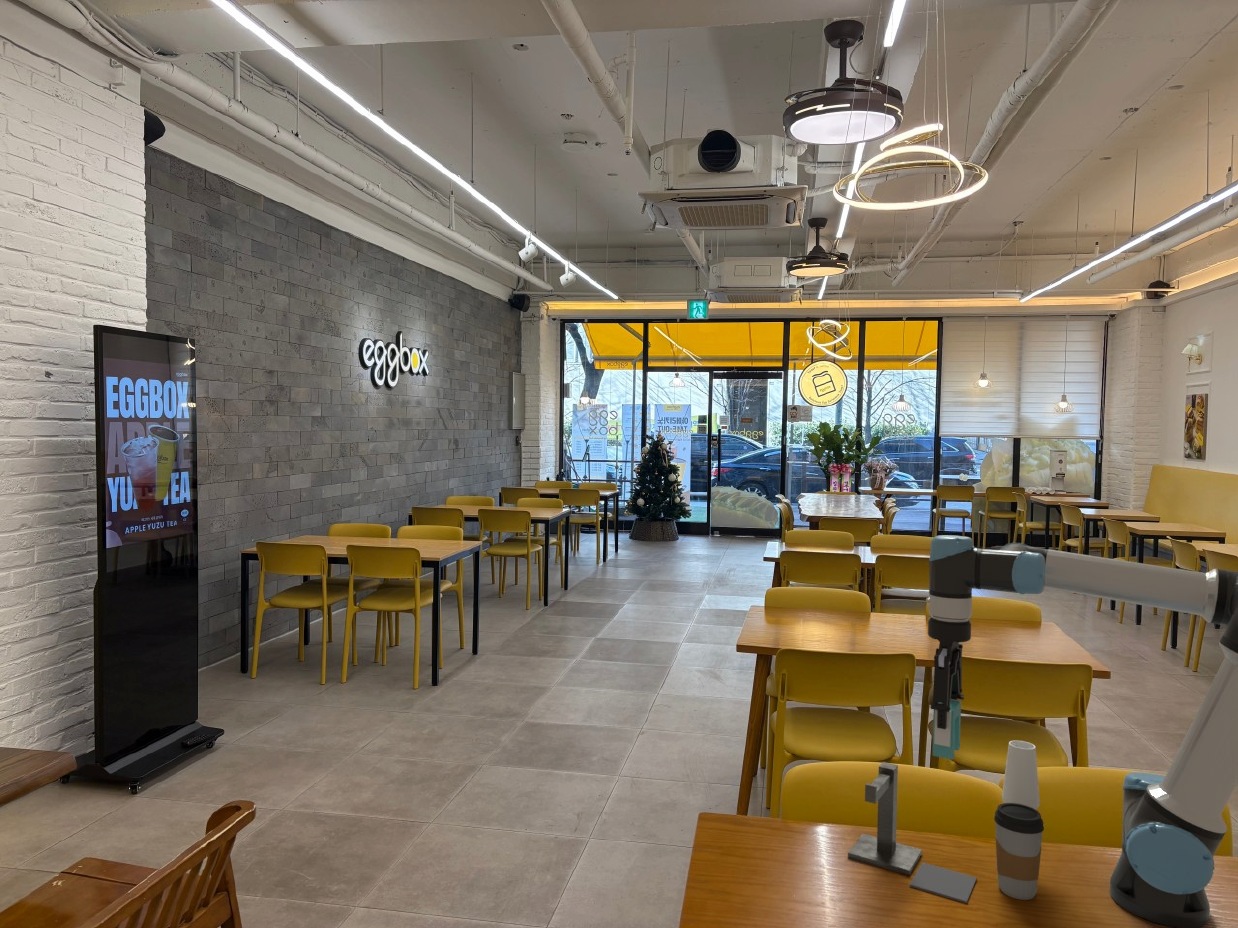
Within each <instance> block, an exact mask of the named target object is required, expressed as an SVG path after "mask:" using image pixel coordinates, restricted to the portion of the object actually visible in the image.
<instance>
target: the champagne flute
mask: <svg viewBox="0 0 1238 928" xmlns="http://www.w3.org/2000/svg"><path fill="white" fill-rule="evenodd" d="M1036 748H1037V747H1036V745H1035V744H1034V743H1031V742H1029V741H1028V742H1027V741H1025V740H1010V741H1009V742H1008V748H1007V755H1006V764H1005V772H1004V779H1003V784H1002V785H1003V786H1002V793H1001V797H1002V798H1001V799H1002V802H1003V803H1016V804H1022V805H1025V806H1029V807H1031V808H1033V809H1035V810H1037V811H1038V808H1039V807H1040V805H1041V799H1040V787H1039V776H1038V774H1039V773H1038V764H1037V763H1038V762H1037V761H1038V760H1037V750H1036Z"/></svg>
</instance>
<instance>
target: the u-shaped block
mask: <svg viewBox="0 0 1238 928" xmlns="http://www.w3.org/2000/svg"><path fill="white" fill-rule="evenodd" d="M950 711H951V746H950V747H948V746H943V745H938V744H934V734H935V709H933V717H932V718H933V723H932V725H933V726H932V729H933V730H932V756H933V757H938V758H943V759H948V760H954V759H955V751H957V752H958V751H960V749H961V720H962V719H961V717H962V714H961V713H962V701H961V700H960V701H955V700H951V701H950Z"/></svg>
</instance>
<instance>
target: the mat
mask: <svg viewBox="0 0 1238 928" xmlns="http://www.w3.org/2000/svg"><path fill="white" fill-rule="evenodd" d="M977 880H978V878H977V877H976V876H973V875H969V874H966V873H961V872H959V871H955V870H952V869H947V868H944V867H941V866H937V865H933V864H930V863H927V862H926V863H925V862H921V864H920V866H919V867H918V869H917V871H916V873H915V874H914V876H913V878H912V879H911V881H910V883H909V887H911V888H913V889H917V890H920V891H924V892H928V893H929V894H930V893H931V894H934V895H937V896H940V897H944V898H948V899H951V900H953V901H957V902H960V903H964V904H968V902H969V899H970V896H972V895H971V894H972V892H973V890H974V887H975V885H976V882H977Z"/></svg>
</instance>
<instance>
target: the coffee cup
mask: <svg viewBox="0 0 1238 928" xmlns="http://www.w3.org/2000/svg"><path fill="white" fill-rule="evenodd" d="M993 820H994V822H995V850H996V851H995V853H996V871H997V881H998V882H997V883H998V887H999V889H1000V891H1001V892H1002V893H1003V894H1004V895H1006V896H1008V897H1010V898H1013V899H1016V900H1024V901H1025V900H1027V901H1028V900H1032V899H1034V898H1035V896H1036V895H1037V890H1038V880H1039V877H1040V875H1039V874H1040V867H1041V865H1040V864H1041V854H1042V840H1043V832H1044V830H1045V827H1044V820H1043V819H1042V814H1041V813H1040V812H1039V811H1038V809H1037V810H1035V809H1033V808H1031V807H1029V806H1025V805H1022V804H1016V803H1004V802H1003V803H1000V804H999V805H997V809H996V810H995V811H994V818H993Z"/></svg>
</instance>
